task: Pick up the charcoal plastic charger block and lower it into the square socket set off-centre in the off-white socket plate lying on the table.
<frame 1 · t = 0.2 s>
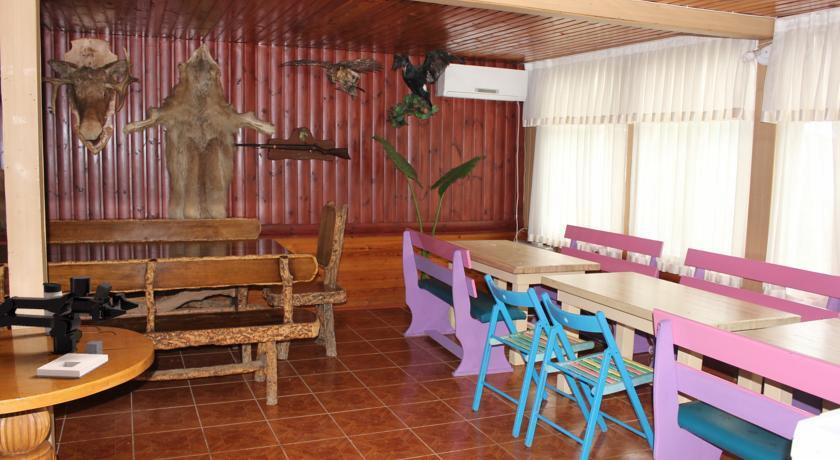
hand: (132, 309, 249), 16 cm above the table, tool horizontal, fingers open, 9 cm apart
socket plate: (73, 369, 233), on the table
charger: (94, 356, 248), on the table
sunglasses: (91, 337, 275), on the table
travel mug: (53, 333, 277), on the table
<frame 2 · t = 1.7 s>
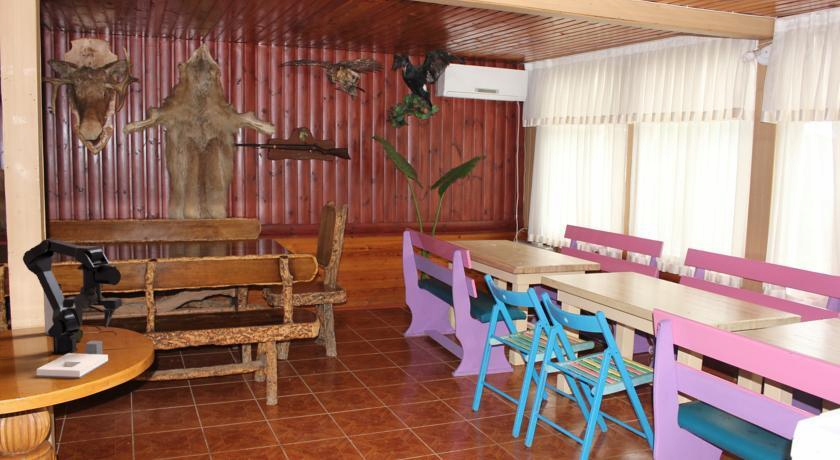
hand: (93, 327, 247), 10 cm above the table, tool pointing down, fingers open, 9 cm apart
nothing on the table moved.
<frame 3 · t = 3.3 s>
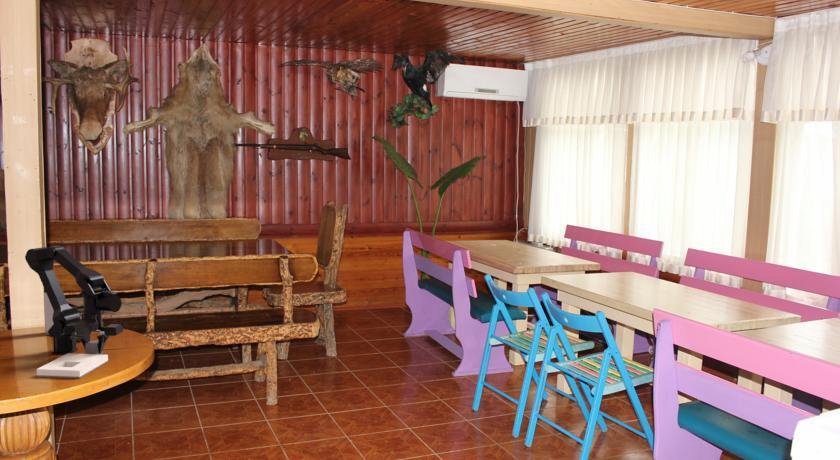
hand: (94, 353, 248), 1 cm above the table, tool pointing down, fingers closed on charger, 4 cm apart
charger: (94, 356, 248), on the table, touching gripper
everything else where it was.
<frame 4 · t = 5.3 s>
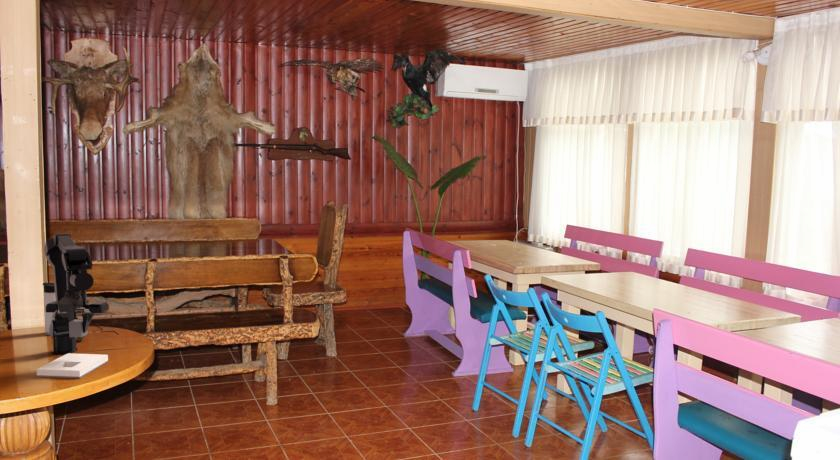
hand: (78, 332, 235), 11 cm above the table, tool pointing down, fingers closed on charger, 4 cm apart
charger: (78, 335, 235), point 10 cm above the table, touching gripper
everything else where it was.
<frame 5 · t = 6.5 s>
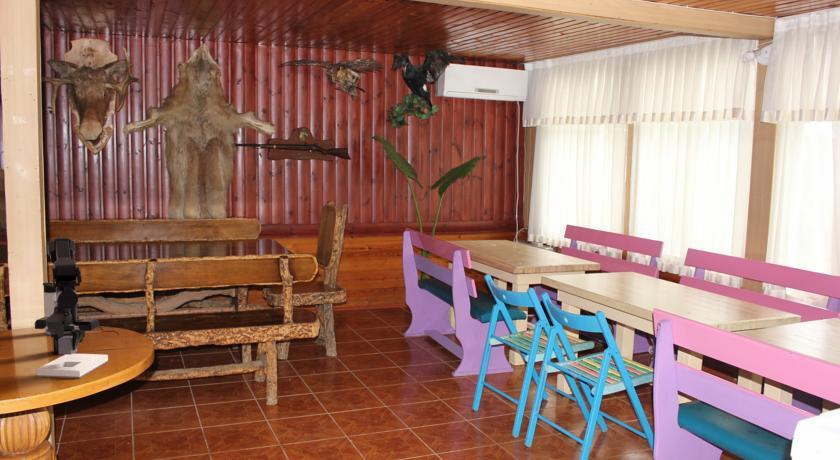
hand: (68, 349, 229), 7 cm above the table, tool pointing down, fingers closed on charger, 4 cm apart
charger: (68, 352, 229), point 6 cm above the table, touching gripper
when the fingers open (3 cm above the table, at t = 7.5 s): charger drops 2 cm, resting on socket plate.
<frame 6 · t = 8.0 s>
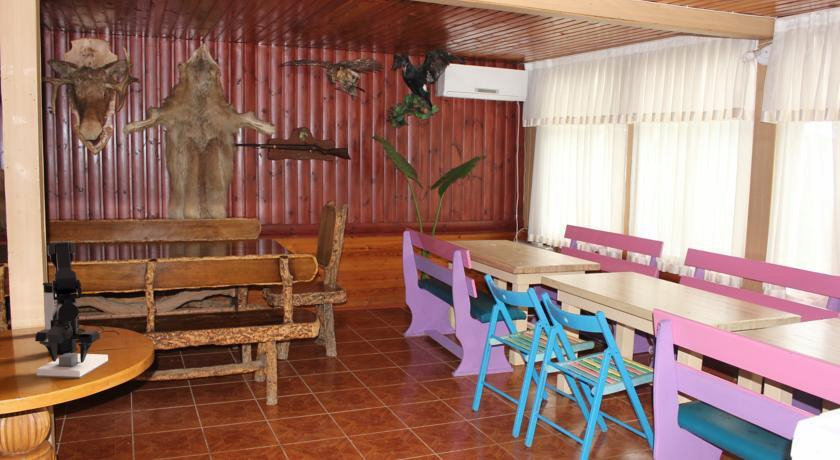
hand: (68, 361, 230), 3 cm above the table, tool pointing down, fingers open, 9 cm apart
charger: (68, 370, 230), resting on socket plate
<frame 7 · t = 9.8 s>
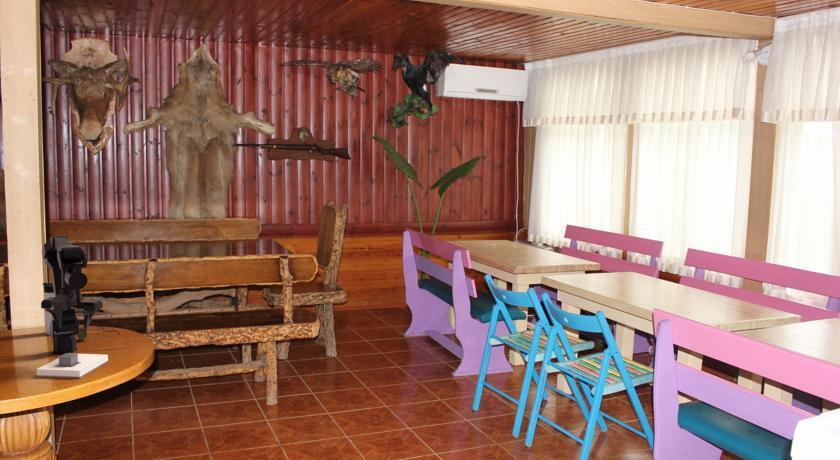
hand: (72, 328, 240), 11 cm above the table, tool pointing down, fingers open, 9 cm apart
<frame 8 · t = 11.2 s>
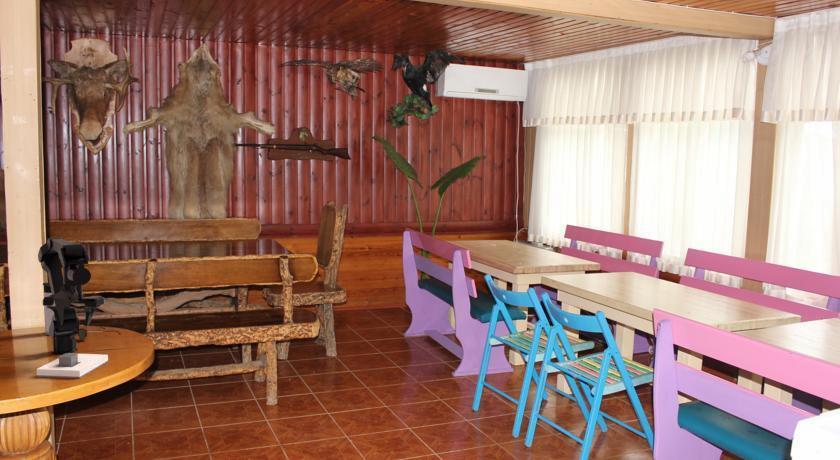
hand: (74, 325, 242), 12 cm above the table, tool pointing down, fingers open, 9 cm apart
at the end: charger 0.1 cm from the target spot on the socket plate, point 0.5 cm above the socket plate's base; charger tilted 0°; the gripper is holding nothing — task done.
